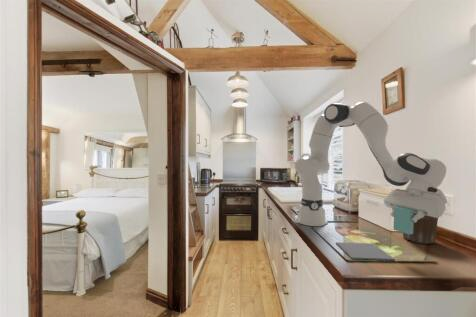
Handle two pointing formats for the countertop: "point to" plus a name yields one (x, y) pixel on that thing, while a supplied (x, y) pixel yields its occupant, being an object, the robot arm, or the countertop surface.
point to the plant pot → (423, 230)
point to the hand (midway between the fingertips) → (402, 218)
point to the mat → (364, 251)
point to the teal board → (403, 220)
